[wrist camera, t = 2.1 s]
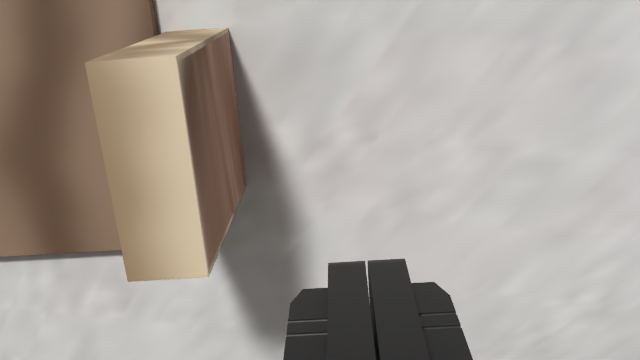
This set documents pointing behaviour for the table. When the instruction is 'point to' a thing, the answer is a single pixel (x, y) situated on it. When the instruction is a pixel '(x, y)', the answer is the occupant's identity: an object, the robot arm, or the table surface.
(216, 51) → the wooden block
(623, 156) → the table surface
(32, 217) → the walnut board
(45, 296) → the table surface
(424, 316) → the robot arm
